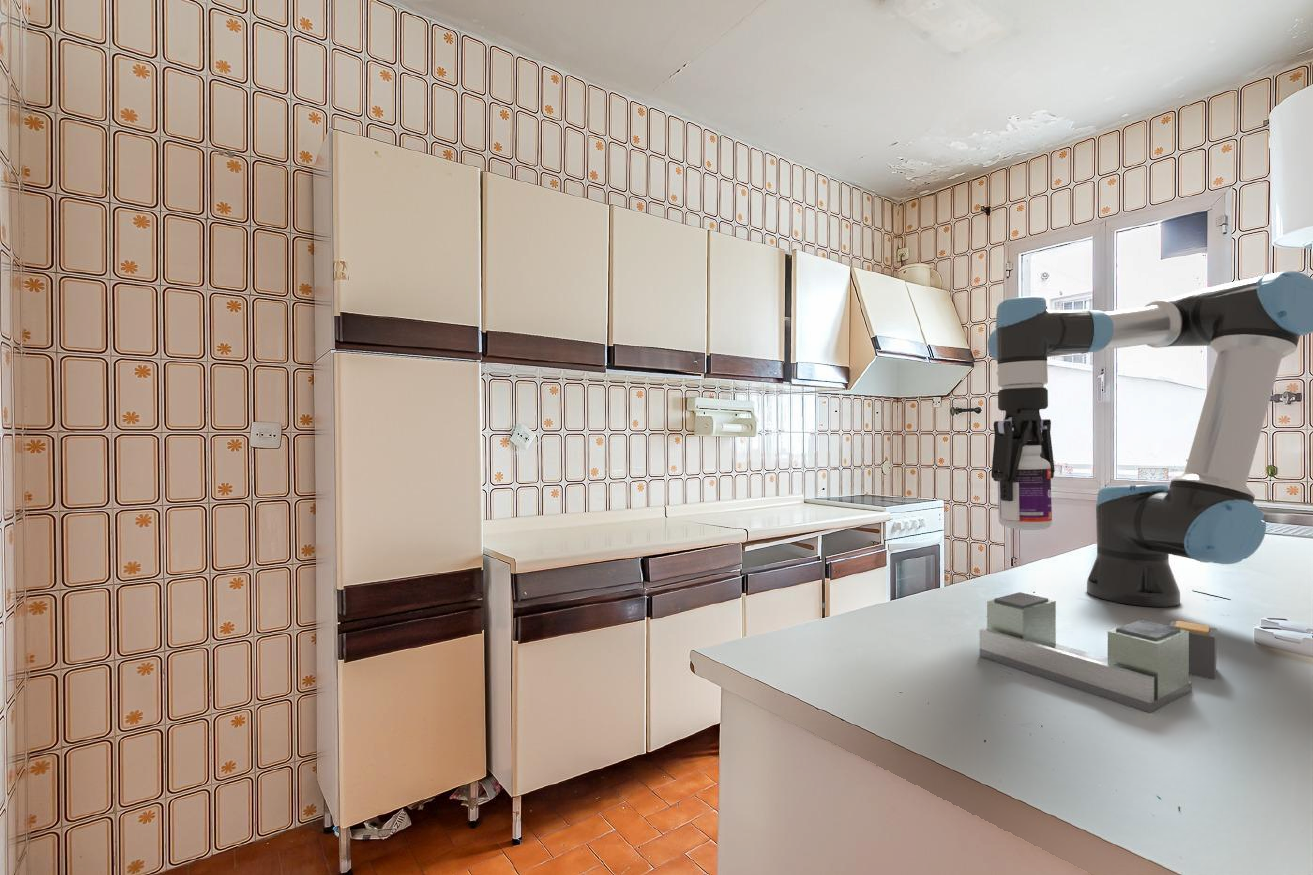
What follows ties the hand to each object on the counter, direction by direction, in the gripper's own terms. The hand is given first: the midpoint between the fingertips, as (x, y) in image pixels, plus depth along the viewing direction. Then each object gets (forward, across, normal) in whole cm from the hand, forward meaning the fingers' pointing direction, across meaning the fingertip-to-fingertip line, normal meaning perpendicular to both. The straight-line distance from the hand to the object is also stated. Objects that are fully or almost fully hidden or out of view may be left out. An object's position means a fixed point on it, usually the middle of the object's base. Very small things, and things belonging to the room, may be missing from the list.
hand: (1024, 516), depth 107 cm
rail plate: (+19, +14, +15) cm, 28 cm away
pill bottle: (+2, 0, 0) cm, 2 cm away
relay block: (+20, -1, +23) cm, 30 cm away
